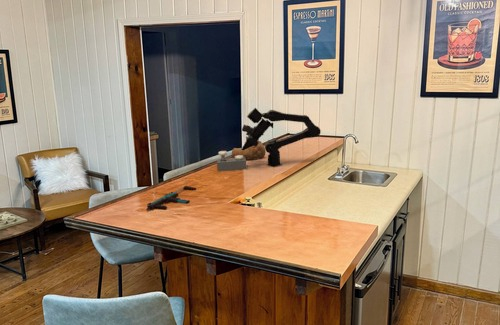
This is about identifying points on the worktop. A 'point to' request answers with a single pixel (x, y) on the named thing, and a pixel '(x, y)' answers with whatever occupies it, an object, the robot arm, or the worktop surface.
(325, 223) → the worktop surface
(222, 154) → the knob
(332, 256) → the worktop surface
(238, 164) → the knob mount
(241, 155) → the knob
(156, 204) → the gun
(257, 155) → the brown rough lump
